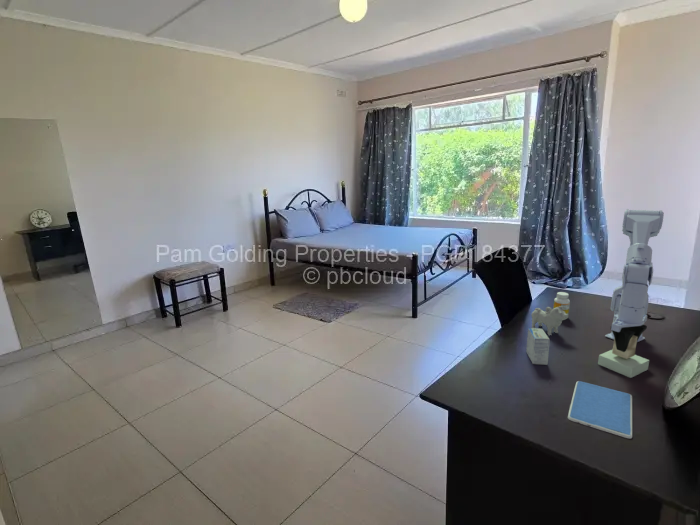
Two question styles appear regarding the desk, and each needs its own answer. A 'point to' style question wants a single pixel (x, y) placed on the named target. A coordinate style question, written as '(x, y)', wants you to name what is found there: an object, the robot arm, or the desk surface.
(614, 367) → the sage base block
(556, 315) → the white animal figurine
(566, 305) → the supplement bottle
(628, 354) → the maple block
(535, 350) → the medicine box
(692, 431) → the desk surface
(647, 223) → the robot arm
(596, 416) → the tablet computer
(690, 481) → the desk surface
